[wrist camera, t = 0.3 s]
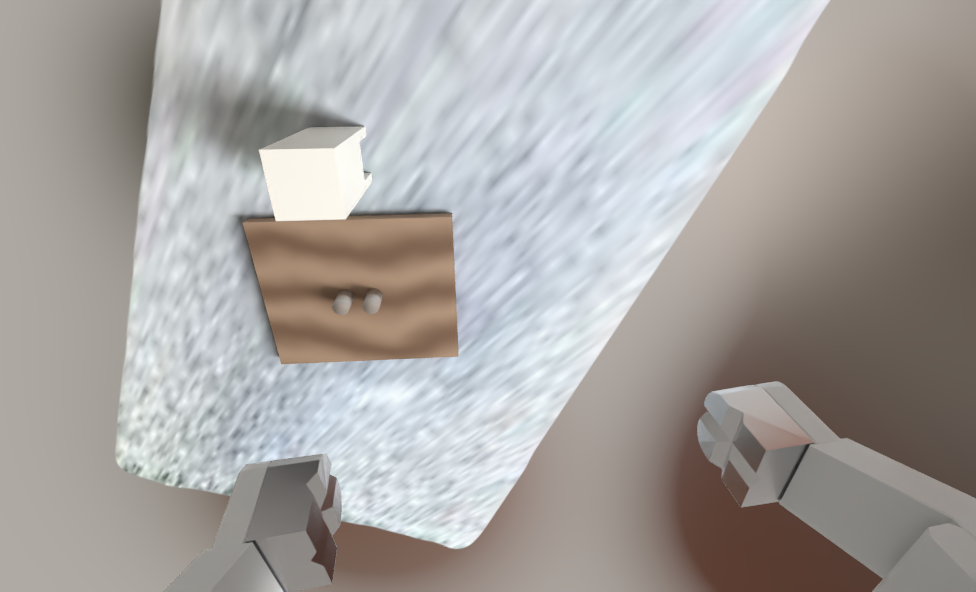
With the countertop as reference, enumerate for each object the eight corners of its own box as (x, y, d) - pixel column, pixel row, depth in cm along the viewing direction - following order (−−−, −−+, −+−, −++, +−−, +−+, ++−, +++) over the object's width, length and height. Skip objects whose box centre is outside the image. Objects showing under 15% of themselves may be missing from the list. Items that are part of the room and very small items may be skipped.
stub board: (247, 218, 52) (230, 231, 49) (451, 213, 54) (451, 225, 50) (285, 357, 62) (273, 377, 58) (458, 350, 63) (458, 369, 59)
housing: (309, 127, 48) (258, 149, 36) (365, 126, 49) (334, 148, 36) (319, 182, 51) (275, 221, 39) (372, 181, 51) (345, 219, 39)
